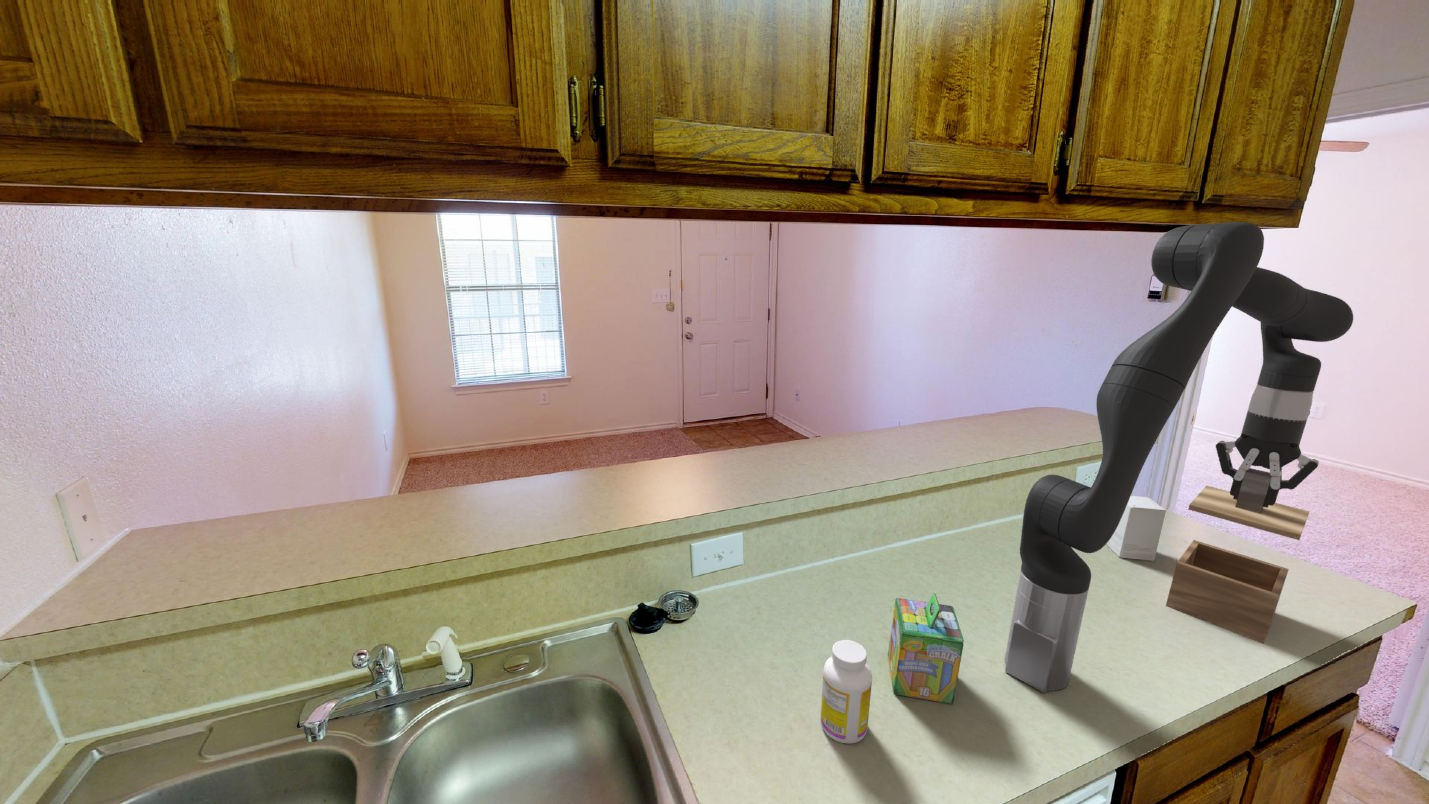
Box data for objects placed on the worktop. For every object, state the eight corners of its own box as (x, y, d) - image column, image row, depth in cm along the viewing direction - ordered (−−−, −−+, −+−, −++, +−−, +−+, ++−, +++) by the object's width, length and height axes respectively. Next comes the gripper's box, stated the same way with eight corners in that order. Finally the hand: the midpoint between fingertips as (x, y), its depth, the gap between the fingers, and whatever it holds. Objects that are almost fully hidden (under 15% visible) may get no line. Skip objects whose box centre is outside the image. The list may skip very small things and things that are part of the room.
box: (1263, 643, 98) (1278, 596, 96) (1165, 605, 108) (1177, 562, 106) (1274, 612, 107) (1288, 569, 104) (1183, 580, 117) (1193, 539, 115)
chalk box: (887, 655, 94) (895, 578, 90) (944, 664, 92) (955, 586, 88) (891, 696, 85) (901, 612, 81) (955, 707, 83) (968, 622, 79)
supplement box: (1155, 561, 124) (1167, 510, 121) (1118, 557, 126) (1129, 507, 122) (1137, 545, 131) (1149, 496, 128) (1103, 542, 133) (1113, 493, 129)
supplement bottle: (859, 707, 83) (866, 634, 80) (873, 745, 76) (881, 667, 73) (815, 708, 83) (820, 635, 79) (825, 746, 76) (831, 668, 73)
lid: (1299, 540, 92) (1313, 496, 90) (1188, 509, 103) (1198, 469, 101) (1308, 516, 101) (1321, 475, 99) (1205, 490, 112) (1215, 453, 110)
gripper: (1220, 407, 100) (1197, 494, 105) (1334, 426, 90) (1303, 522, 94) (1228, 401, 105) (1205, 485, 109) (1337, 418, 94) (1307, 510, 99)
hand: (1251, 501), depth 102 cm, fingers closed on lid, 3 cm apart
